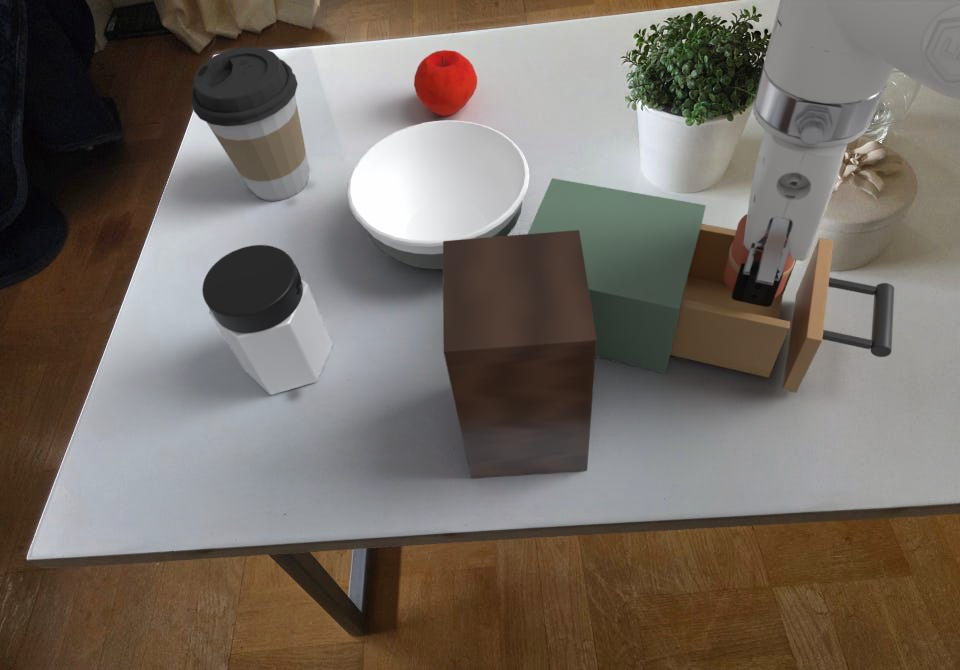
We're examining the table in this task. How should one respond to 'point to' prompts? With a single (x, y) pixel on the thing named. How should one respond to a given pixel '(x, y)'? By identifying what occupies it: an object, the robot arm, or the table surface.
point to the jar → (268, 317)
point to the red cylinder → (740, 255)
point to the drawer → (766, 315)
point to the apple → (445, 82)
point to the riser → (520, 351)
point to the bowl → (437, 188)
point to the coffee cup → (254, 118)
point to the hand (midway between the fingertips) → (756, 273)
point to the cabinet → (628, 263)
